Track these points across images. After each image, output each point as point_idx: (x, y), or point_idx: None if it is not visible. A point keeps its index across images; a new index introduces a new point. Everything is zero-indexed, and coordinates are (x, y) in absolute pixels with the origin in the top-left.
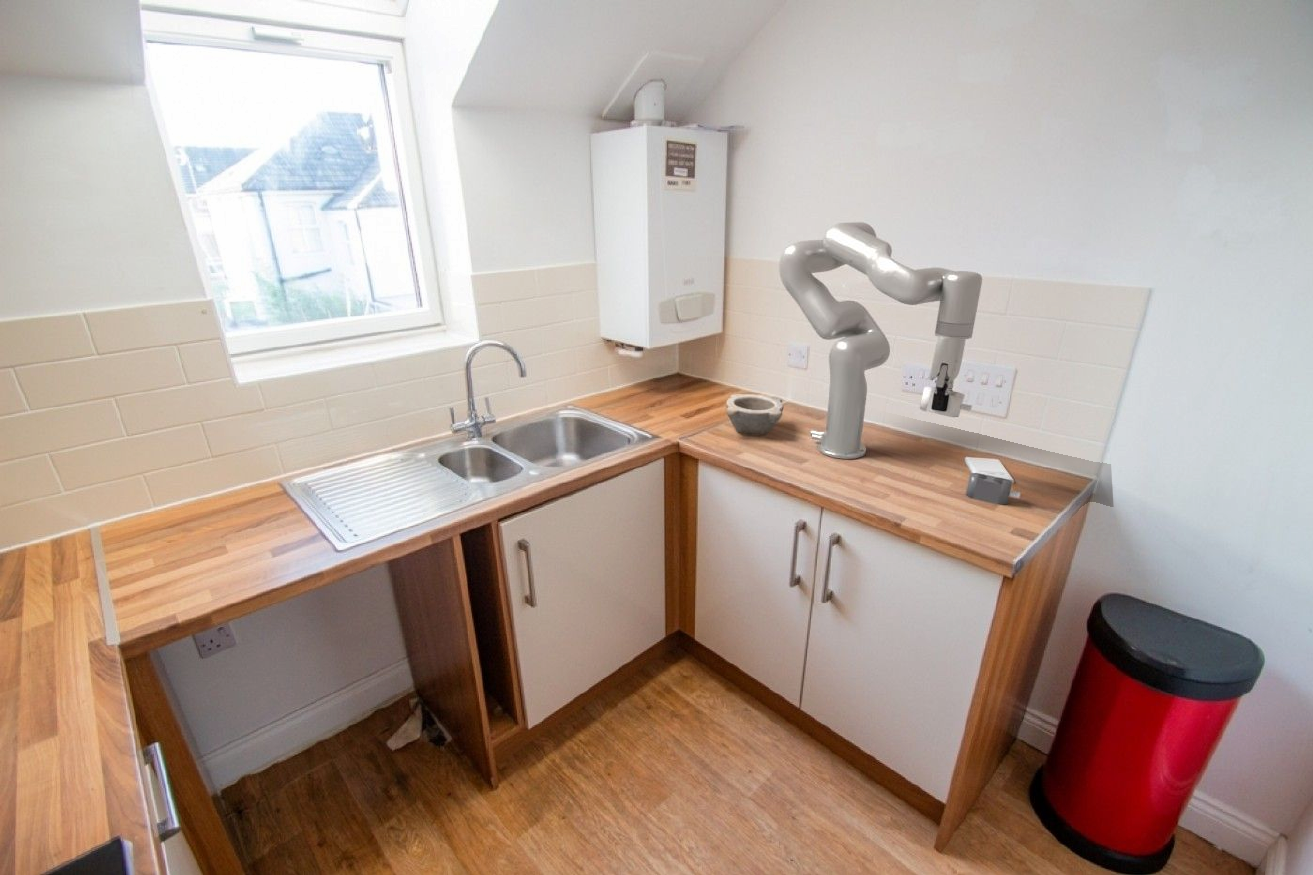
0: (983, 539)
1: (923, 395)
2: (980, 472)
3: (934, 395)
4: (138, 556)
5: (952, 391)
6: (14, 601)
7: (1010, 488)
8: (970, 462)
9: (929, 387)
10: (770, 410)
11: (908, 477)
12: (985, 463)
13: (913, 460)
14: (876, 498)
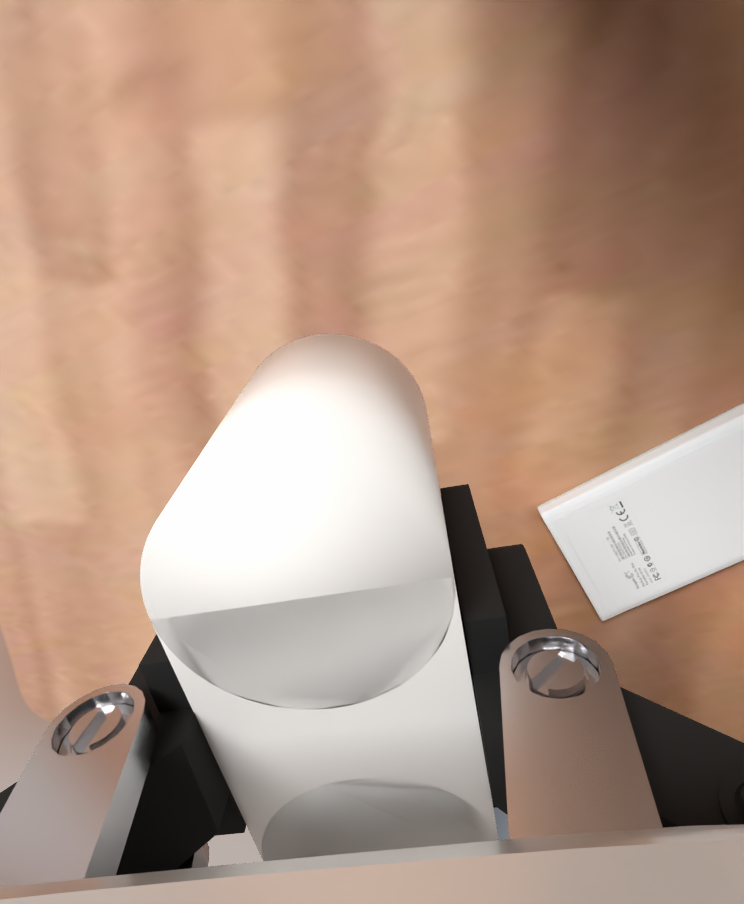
0: (76, 649)
1: (207, 444)
2: (601, 510)
3: (161, 646)
4: None
5: (470, 807)
6: None
7: None
8: (706, 442)
9: (360, 525)
10: None
11: (362, 262)
12: (732, 496)
13: (612, 179)
14: (25, 250)
